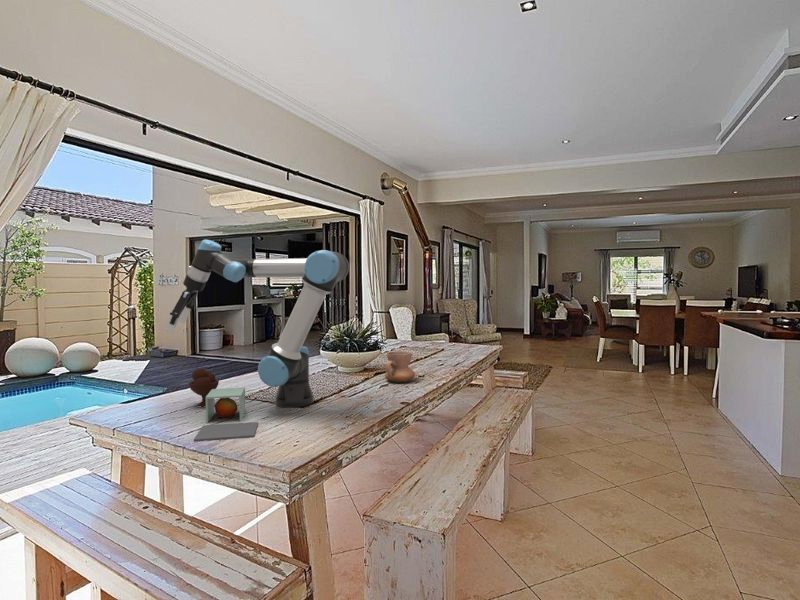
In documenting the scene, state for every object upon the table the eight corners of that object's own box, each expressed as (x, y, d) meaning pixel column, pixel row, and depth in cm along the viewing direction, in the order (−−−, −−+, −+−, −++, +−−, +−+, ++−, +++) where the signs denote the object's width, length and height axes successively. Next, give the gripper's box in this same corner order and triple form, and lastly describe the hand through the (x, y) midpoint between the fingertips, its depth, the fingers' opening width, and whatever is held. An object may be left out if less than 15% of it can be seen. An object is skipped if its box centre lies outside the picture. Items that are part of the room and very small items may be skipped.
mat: (258, 423, 162) (258, 421, 162) (254, 437, 149) (254, 435, 149) (202, 427, 159) (202, 425, 158) (193, 441, 145) (193, 439, 145)
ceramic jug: (400, 376, 238) (399, 348, 237) (422, 379, 229) (421, 351, 228) (375, 383, 225) (374, 353, 224) (398, 387, 215) (397, 356, 214)
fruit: (213, 410, 174) (224, 391, 174) (232, 420, 175) (243, 401, 175) (206, 416, 166) (217, 397, 166) (226, 427, 167) (237, 408, 167)
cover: (245, 411, 178) (245, 387, 177) (241, 420, 166) (241, 395, 165) (212, 413, 175) (211, 389, 175) (206, 422, 163) (205, 397, 163)
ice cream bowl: (209, 409, 180) (208, 371, 179) (183, 408, 182) (182, 370, 181) (224, 402, 190) (223, 365, 189) (200, 401, 192) (199, 364, 191)
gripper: (197, 269, 191) (176, 314, 194) (175, 279, 167) (153, 331, 170) (214, 277, 193) (194, 322, 196) (196, 288, 169) (173, 339, 171)
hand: (175, 326), depth 183 cm, fingers open, 13 cm apart
